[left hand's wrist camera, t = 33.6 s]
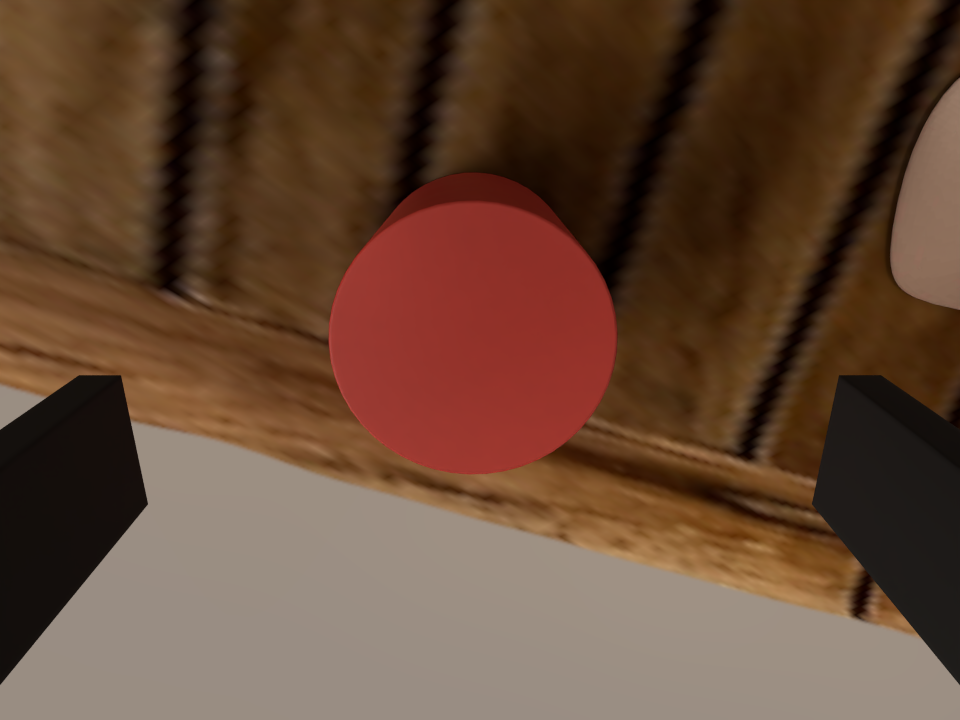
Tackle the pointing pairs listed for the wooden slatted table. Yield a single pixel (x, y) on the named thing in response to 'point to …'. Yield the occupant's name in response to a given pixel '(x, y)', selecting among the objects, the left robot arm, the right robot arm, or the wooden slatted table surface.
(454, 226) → the canister
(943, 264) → the anatomical model
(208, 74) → the wooden slatted table surface
